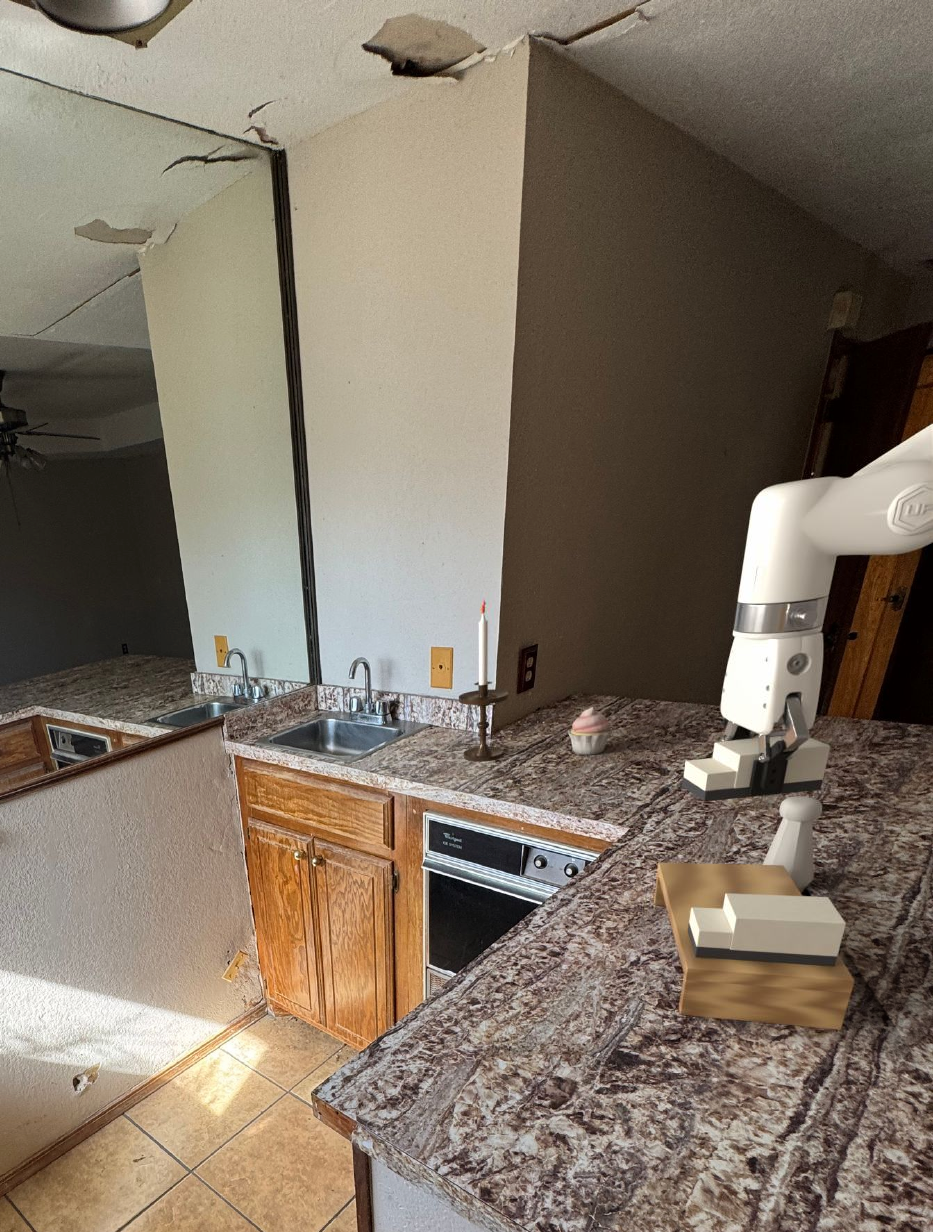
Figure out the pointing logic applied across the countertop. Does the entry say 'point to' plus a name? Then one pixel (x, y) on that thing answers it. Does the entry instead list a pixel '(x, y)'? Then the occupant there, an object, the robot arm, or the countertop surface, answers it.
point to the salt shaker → (795, 839)
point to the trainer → (734, 769)
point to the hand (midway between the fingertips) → (749, 783)
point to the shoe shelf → (741, 983)
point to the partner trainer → (768, 929)
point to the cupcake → (590, 732)
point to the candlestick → (483, 699)
